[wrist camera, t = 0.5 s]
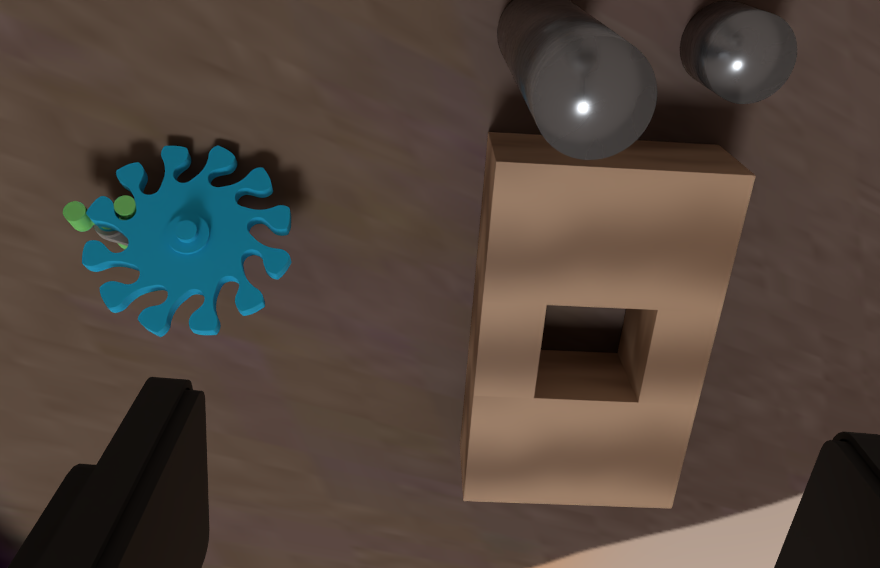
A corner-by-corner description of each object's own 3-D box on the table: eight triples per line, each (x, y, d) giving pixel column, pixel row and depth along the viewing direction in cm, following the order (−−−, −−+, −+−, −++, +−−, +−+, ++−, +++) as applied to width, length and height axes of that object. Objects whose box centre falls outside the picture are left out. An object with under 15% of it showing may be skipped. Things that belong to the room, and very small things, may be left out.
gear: (319, 170, 39) (249, 357, 35) (324, 218, 44) (263, 383, 41) (107, 106, 39) (16, 287, 35) (138, 162, 44) (62, 323, 41)
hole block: (488, 131, 40) (496, 161, 35) (718, 144, 40) (755, 175, 36) (459, 445, 49) (463, 500, 44) (649, 452, 49) (671, 508, 45)
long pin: (501, -14, 37) (540, 31, 24) (585, -9, 37) (667, 39, 24) (493, 72, 38) (526, 156, 26) (573, 77, 39) (645, 163, 26)
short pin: (688, -2, 37) (716, 8, 33) (771, 3, 37) (807, 14, 34) (672, 82, 39) (697, 101, 35) (750, 87, 39) (783, 106, 35)
